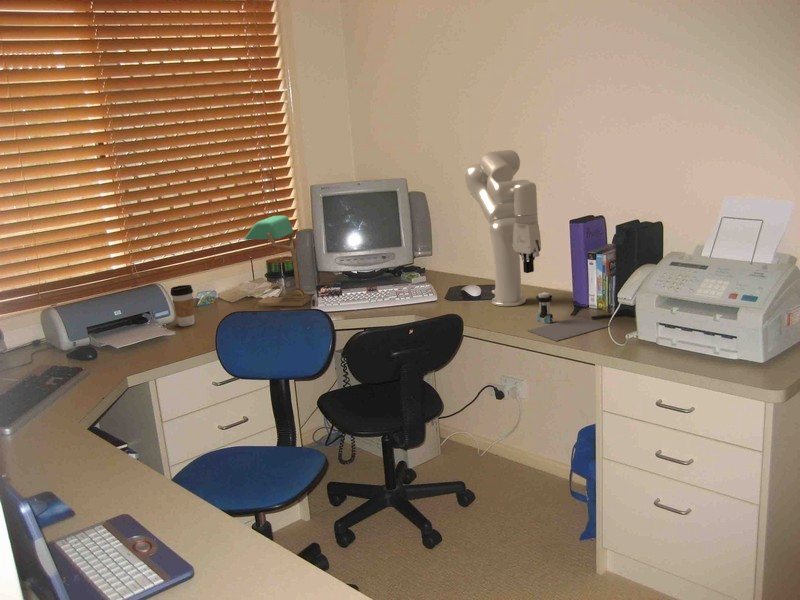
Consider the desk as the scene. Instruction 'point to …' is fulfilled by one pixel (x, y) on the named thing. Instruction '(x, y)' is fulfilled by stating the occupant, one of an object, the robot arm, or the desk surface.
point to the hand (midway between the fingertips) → (528, 272)
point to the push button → (544, 307)
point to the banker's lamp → (275, 230)
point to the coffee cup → (183, 304)
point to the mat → (567, 328)
